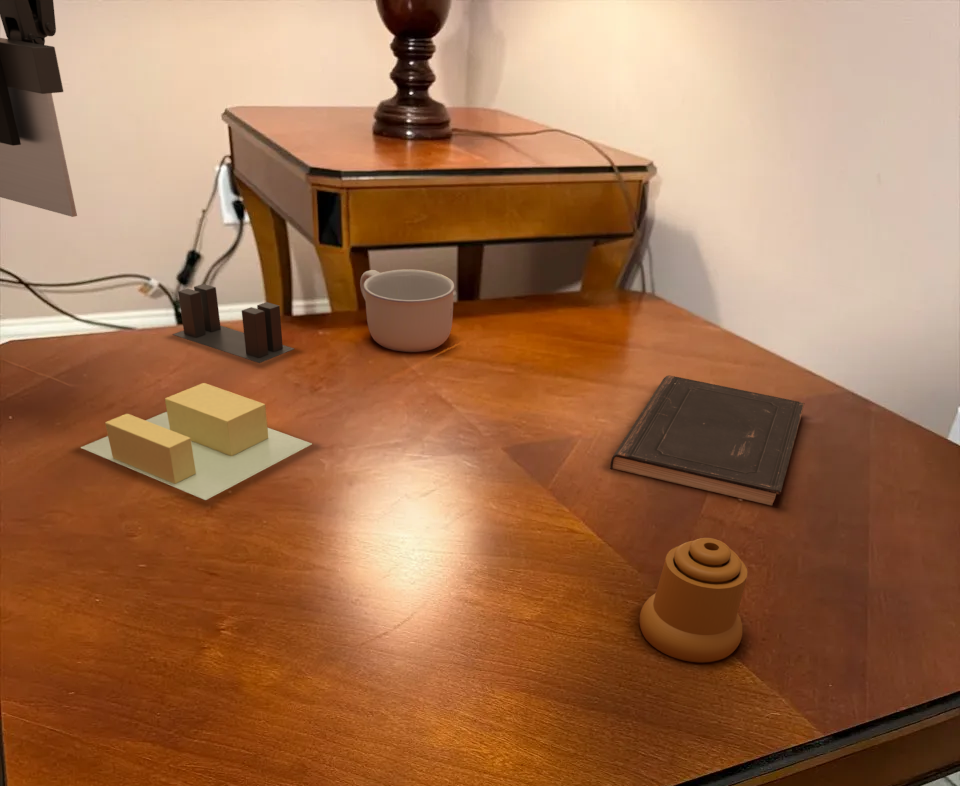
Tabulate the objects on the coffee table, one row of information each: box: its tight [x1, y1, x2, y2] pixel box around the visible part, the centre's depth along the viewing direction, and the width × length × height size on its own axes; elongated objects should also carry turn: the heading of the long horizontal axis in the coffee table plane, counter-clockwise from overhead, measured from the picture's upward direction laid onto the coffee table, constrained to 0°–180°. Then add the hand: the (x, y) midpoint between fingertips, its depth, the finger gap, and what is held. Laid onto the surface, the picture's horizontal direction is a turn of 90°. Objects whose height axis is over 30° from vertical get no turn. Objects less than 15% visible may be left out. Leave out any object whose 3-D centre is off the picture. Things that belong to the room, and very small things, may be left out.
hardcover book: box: [609, 375, 806, 506], centre depth 90 cm, size 16×23×2 cm
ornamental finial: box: [639, 537, 748, 664], centre depth 62 cm, size 8×8×8 cm
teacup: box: [359, 268, 455, 353], centre depth 107 cm, size 14×11×8 cm
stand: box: [172, 283, 295, 364], centre depth 102 cm, size 14×6×6 cm, turn 58°
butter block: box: [164, 382, 269, 456], centre depth 83 cm, size 8×5×4 cm, turn 58°
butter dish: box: [80, 411, 313, 501], centre depth 82 cm, size 16×14×1 cm
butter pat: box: [104, 413, 196, 484], centre depth 77 cm, size 8×2×4 cm, turn 58°
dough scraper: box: [0, 37, 78, 218], centre depth 72 cm, size 11×2×12 cm, turn 58°
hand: (20, 140), depth 72 cm, fingers closed on dough scraper, 2 cm apart
